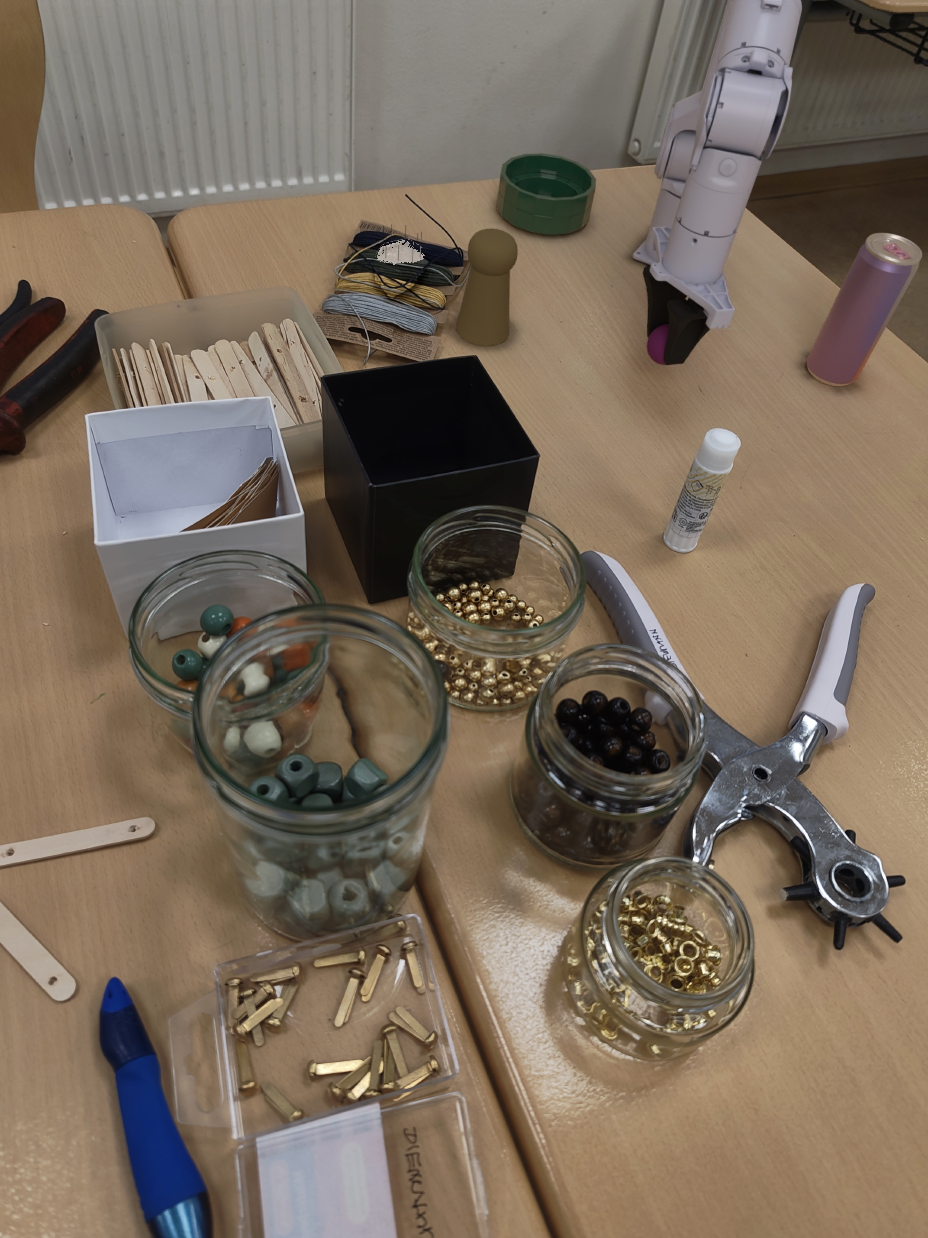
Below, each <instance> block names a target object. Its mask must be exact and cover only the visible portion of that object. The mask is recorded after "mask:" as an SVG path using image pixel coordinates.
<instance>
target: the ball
mask: <svg viewBox="0 0 928 1238" xmlns="http://www.w3.org/2000/svg"><path fill="white" fill-rule="evenodd" d="M668 332H669V324H665V325H661V326H659V327H657V328H656V329H654V330H653V331H652V333H651V334H650V336H649V338H648V337H647V341H646V351H647V354H648V357H649V358H650V359H651V361H653V362H654V363H656V364H658V365H660V366H667V365H666V364H665V362H664V351H665V346H666V342H667V338H668Z"/></svg>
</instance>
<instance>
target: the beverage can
mask: <svg viewBox="0 0 928 1238" xmlns="http://www.w3.org/2000/svg"><path fill="white" fill-rule="evenodd" d="M922 258H923V251H922V249H921V248H920V247H919V246H918V245H917V244H916V243H915V242H913V241H912V240H910V239H908V238H906V237H903V236H902V235H899V234H894V233H889V232H875V233H871V234H870V235H869V236H867V238H866V239H865V242H864V243H863V244H862V245H861V246H860V247H859V250H858V252H857V253H856V255H855V257H854V259H853V262H852V264H851V266H850V268H849V270H848V273H847V274H846V277H845V278H844V280H843V283H842V285H841V287H840V289H839V291H838V293H837V295H836V297H835V299H834V301H833V304H832V306H831V307H830V310H829V312H828V314H827V316H826V318H825V320H824V322H823V324H822V326H821V328H820V330H819V333H818V335H817V337H816V339H815V341H814V343H813V345H812V347H811V349H810V351H809V354H808V356H807V358H806V367H807V370H808V372H809V374H810V375H811V376H812V377H813V378H814V379H815V380H817V381H819V382H820V383H822V384H824V385H828V386H832V387H846V386H848V385H851V384H853V383H854V382H855V381H858V379H859V378H860V376H861V374H862V371H863V370H864V368H865V366H866V364H867V363H868V360H869V359H870V357H871V356H872V354H873V352H874V350H875V349H876V346H877V344H878V342H879V340H880V339H881V337H882V335H883V334H884V332H885V330H886V328H887V326H888V325H889V323H890V320H891V318H892V317H893V315H894V313H895V311H896V309H897V308H898V306H899V304H900V302H901V301H902V298H903V297H904V295H905V293H906V291H907V290H908V288H909V286H910V284H911V282H912V280H913V279H914V277H915V275H916V273H917V271H918V269H919V266H920V261H921V259H922Z"/></svg>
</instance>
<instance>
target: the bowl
mask: <svg viewBox="0 0 928 1238" xmlns="http://www.w3.org/2000/svg"><path fill="white" fill-rule="evenodd" d="M596 188H597V178H596V177H595V175H594V174H593V173H592V172H591V170H590V169H589V168H588V167H586V166H584V165H583V164H581V163H580V162H578V161H576V160H572V159H570V158H567V157H564V156H561V155H555V154H549V153H541V152H540V153H539V152H538V153H523V154H520V155H516V156H513V157H510V158H509V159H507V160H506V161H505V162H504V163H502V165H501V169H500V176H499V183H498V191H497V200H496V206H495V208H496V210H497V211H498V212H499V215H500V216H501V218H502V219H504V220H506V221H507V222H508V223H510V224H511V225H513V226H514V227H516V228H519V229H522V230H525V231H527V232H530V233H534V234H541V235H547V236H553V235H567V234H571V233H574V232H577V231H579V230H582V229H583V228H584V227H585V226H586V225H587V224H588V223H589V221H590V215H591V211H592V206H593V203H594V198H595V193H596Z"/></svg>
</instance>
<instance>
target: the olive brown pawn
mask: <svg viewBox="0 0 928 1238" xmlns="http://www.w3.org/2000/svg"><path fill="white" fill-rule="evenodd" d="M518 254H519V252H518V244H517V241H516V239H515V238H514V237H513V235H511V234H510V233H508V232H507V231H505V230H503V229H499V228H492V227H491V228H484V229H480V230H478V231H476V232H475V233H474V234H473V235H472V236H471V238H470V239H469V241H468V245H467V259H468V261H469V263H470V269H469V272H468V277H467V281H466V284H465V288H464V293H463V297H462V300H461V304H460V309H459V311H458V316H457V320H456V323H455V324H456V325H455V330H456V332H457V335H458V336H459V337H460V338H461V339H462V340H464V341H466V342H467V343H469V344H472V345H475V346H480V347H481V346H483V347H490V346H491V347H492V346H497V345H499V344H503V343H504V342H506V340H508V338H509V336H510V296H511V295H510V290H511V289H510V288H511V287H510V285H511V281H510V280H511V270H512V269H513V267H514V266H515V265H516V262H517V260H518Z"/></svg>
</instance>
